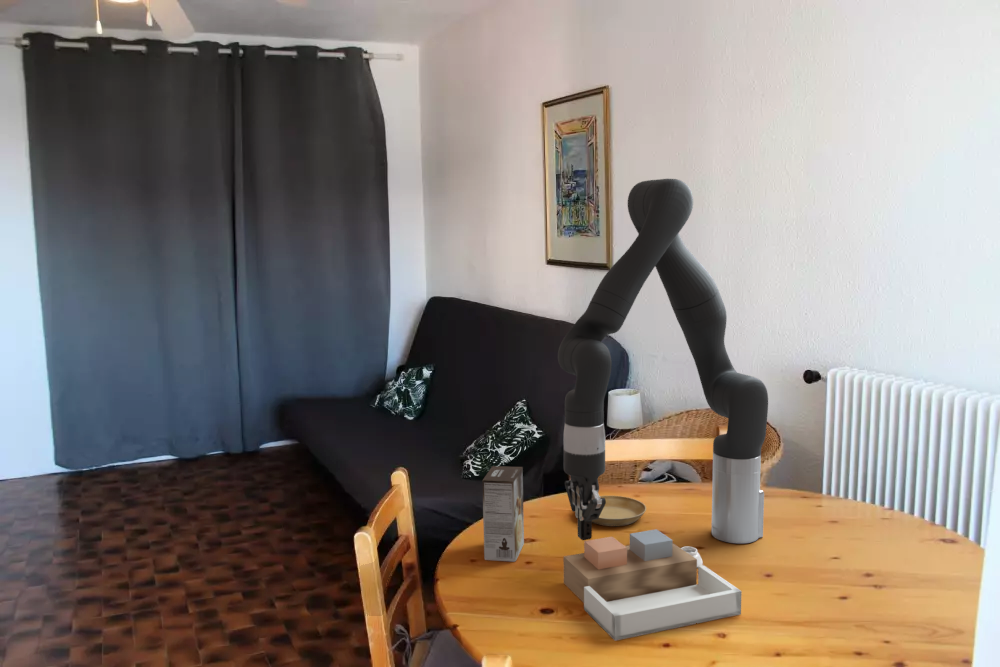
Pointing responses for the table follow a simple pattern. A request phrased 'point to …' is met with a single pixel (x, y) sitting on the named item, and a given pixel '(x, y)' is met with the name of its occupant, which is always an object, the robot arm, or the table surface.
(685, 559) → the brown wooden slab
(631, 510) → the plant saucer
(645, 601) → the box
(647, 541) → the blue grey flat block
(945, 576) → the table surface
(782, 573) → the table surface
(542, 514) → the table surface
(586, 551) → the tile terracotta
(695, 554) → the white jar
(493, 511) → the coffee box
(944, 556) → the table surface
